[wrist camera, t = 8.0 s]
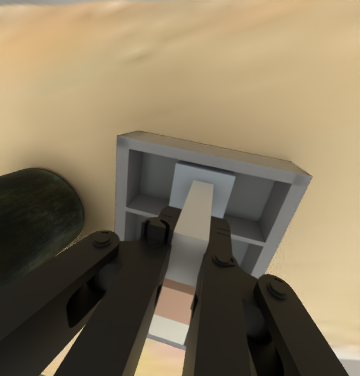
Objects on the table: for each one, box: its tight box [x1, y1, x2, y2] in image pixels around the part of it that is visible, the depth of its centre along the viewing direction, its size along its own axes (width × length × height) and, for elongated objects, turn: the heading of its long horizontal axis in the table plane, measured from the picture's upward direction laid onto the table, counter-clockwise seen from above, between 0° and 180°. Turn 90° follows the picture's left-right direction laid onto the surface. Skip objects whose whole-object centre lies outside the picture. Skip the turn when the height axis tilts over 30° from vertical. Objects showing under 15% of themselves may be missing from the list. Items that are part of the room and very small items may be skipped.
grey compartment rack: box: [115, 131, 313, 351], centre depth 20 cm, size 14×24×4 cm, turn 170°
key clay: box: [154, 278, 196, 325], centre depth 19 cm, size 4×4×2 cm
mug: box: [0, 168, 84, 291], centre depth 18 cm, size 11×15×12 cm
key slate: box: [169, 160, 236, 219], centre depth 15 cm, size 4×4×2 cm
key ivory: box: [148, 314, 189, 345], centre depth 22 cm, size 4×4×2 cm
